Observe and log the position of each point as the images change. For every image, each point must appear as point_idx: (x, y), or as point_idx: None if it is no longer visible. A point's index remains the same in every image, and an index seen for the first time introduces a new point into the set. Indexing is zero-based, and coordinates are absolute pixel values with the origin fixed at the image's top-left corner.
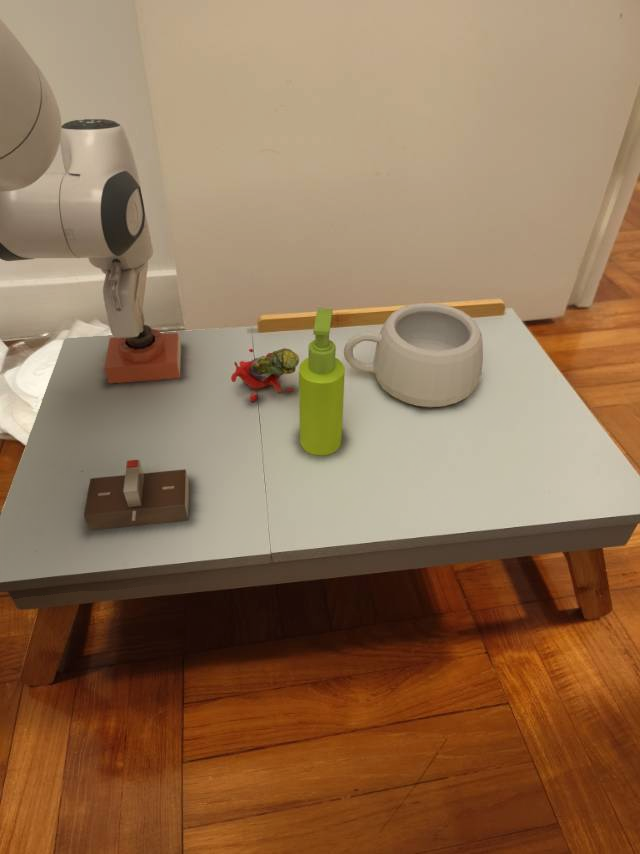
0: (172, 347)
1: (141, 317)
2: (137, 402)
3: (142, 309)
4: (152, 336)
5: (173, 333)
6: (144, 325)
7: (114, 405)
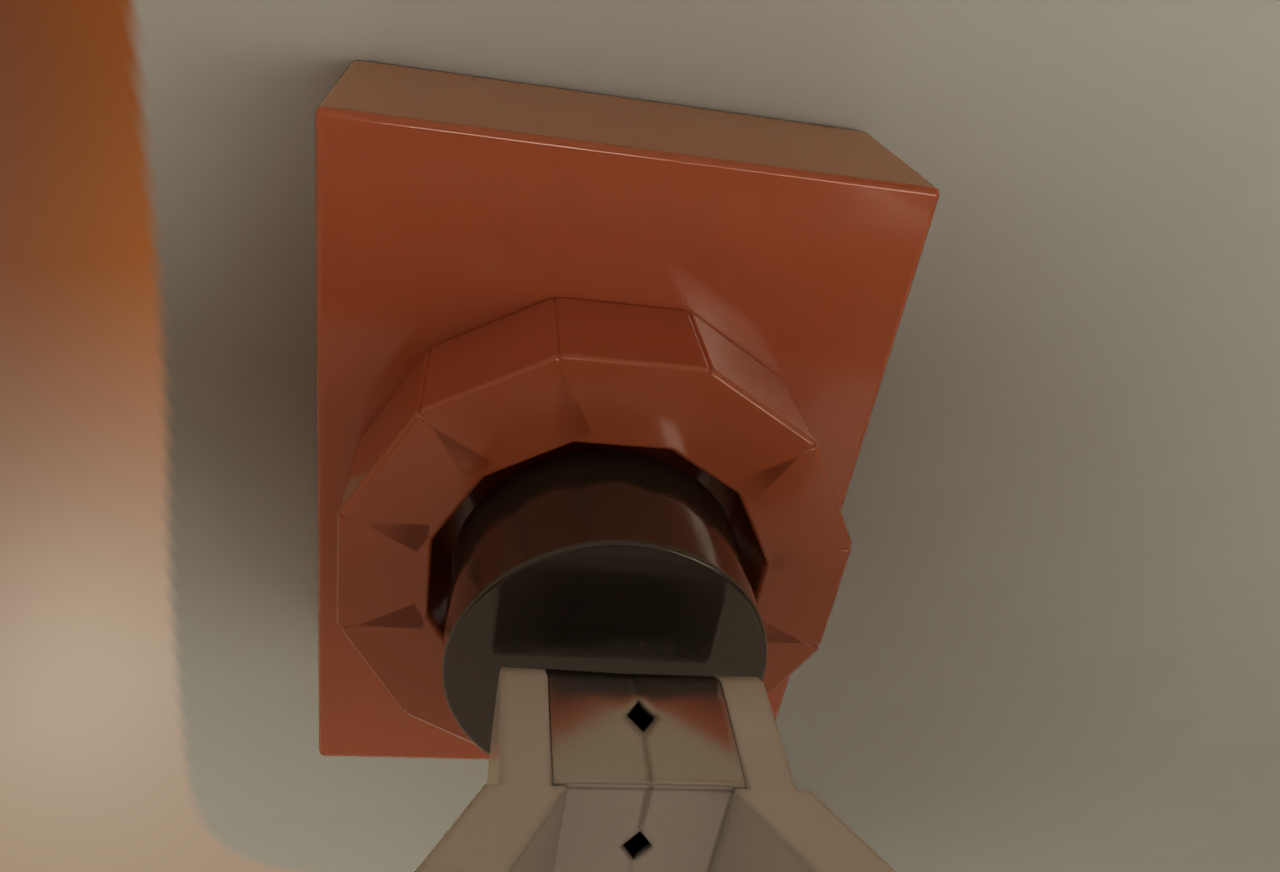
0: (639, 214)
1: (653, 791)
2: (1018, 479)
3: (503, 822)
4: (638, 495)
5: (332, 174)
6: (487, 615)
7: (975, 610)
